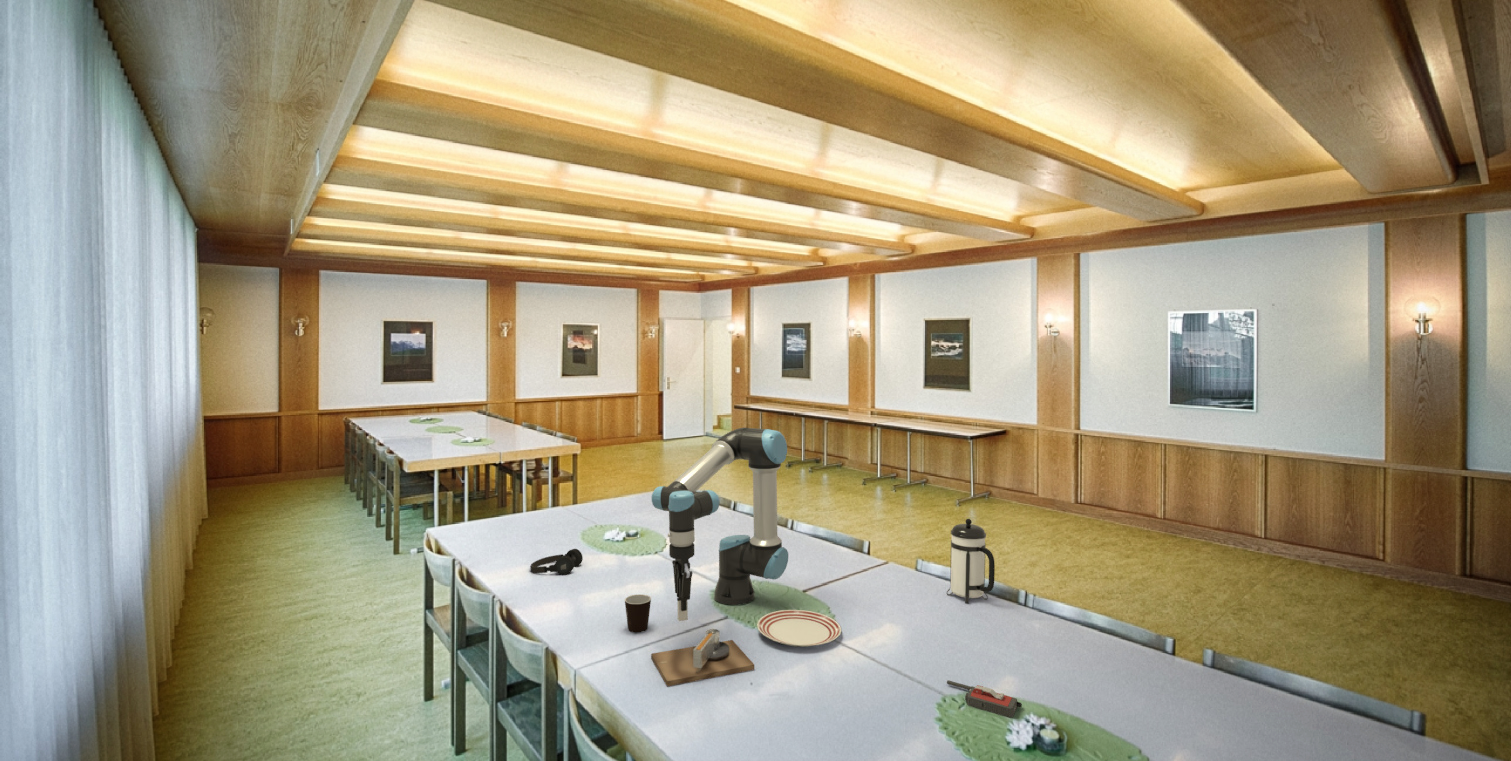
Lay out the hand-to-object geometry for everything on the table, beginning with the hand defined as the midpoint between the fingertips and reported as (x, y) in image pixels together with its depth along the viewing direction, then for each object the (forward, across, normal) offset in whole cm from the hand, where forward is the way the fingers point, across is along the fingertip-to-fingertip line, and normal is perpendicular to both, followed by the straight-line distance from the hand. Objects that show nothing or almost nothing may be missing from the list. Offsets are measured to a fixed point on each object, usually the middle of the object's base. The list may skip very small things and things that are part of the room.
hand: (682, 619), depth 200 cm
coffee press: (+13, -4, +114) cm, 115 cm away
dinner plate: (+12, 0, +39) cm, 41 cm away
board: (+11, +8, +3) cm, 14 cm away
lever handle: (+9, +9, +5) cm, 14 cm away
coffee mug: (+11, -25, -8) cm, 28 cm away
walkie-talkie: (+12, +56, +65) cm, 87 cm away
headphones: (+12, -97, -27) cm, 101 cm away
